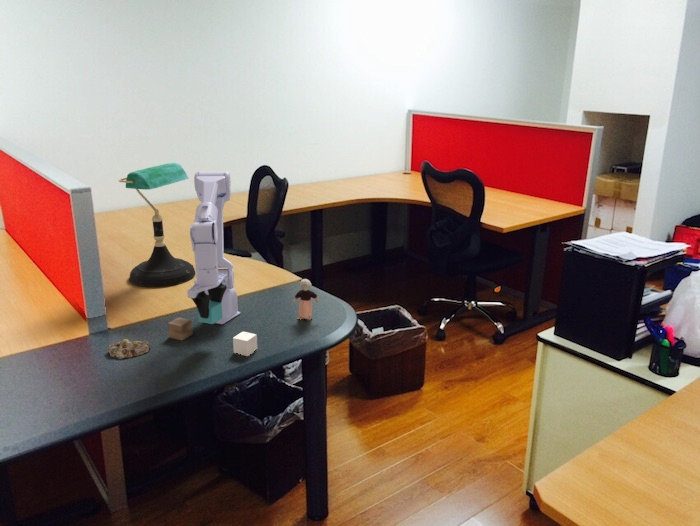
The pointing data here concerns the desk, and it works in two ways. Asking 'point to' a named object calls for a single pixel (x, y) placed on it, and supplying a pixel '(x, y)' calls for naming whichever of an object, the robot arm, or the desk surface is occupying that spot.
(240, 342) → the white block
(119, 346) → the mineral rock
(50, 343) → the desk surface
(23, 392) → the desk surface
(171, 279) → the banker's lamp
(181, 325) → the walnut block
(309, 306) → the grandmother figurine
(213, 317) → the teal block
